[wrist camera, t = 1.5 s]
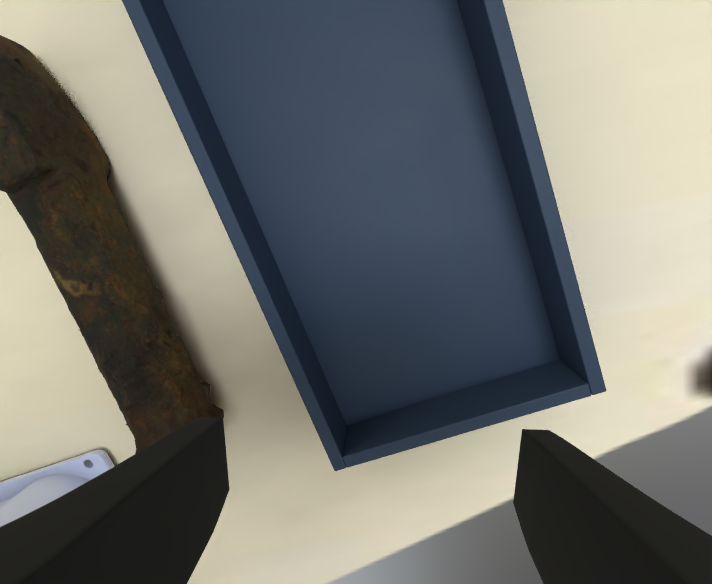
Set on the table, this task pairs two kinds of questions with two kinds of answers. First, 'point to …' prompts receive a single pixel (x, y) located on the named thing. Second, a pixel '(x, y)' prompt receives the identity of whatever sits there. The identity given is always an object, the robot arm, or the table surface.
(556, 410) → the table surface
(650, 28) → the table surface
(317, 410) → the desk tray
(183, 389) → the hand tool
